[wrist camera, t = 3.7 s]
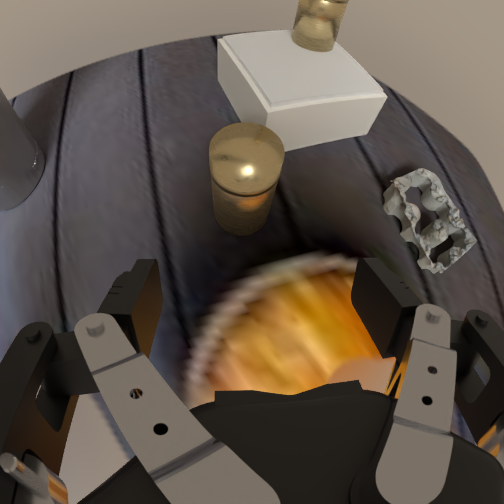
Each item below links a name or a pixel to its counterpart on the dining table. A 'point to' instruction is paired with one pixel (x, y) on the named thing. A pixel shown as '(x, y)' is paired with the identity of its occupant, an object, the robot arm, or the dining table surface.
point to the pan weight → (318, 24)
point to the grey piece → (438, 229)
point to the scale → (297, 88)
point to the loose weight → (244, 175)
